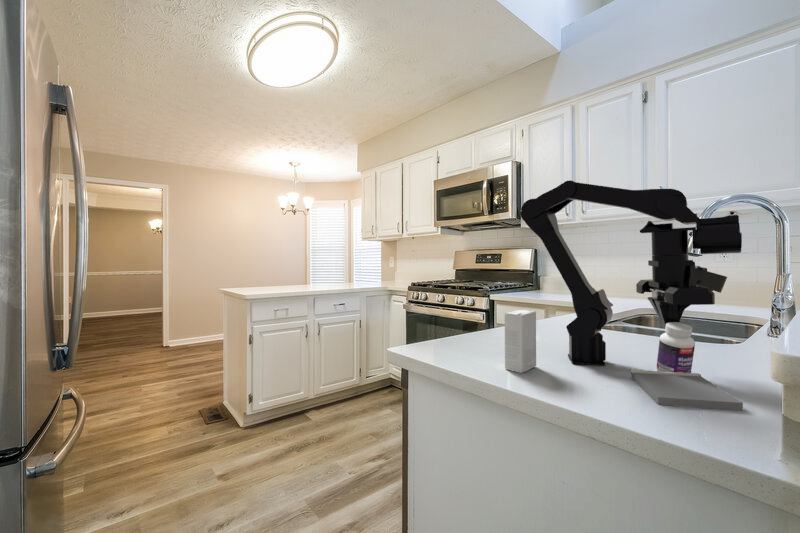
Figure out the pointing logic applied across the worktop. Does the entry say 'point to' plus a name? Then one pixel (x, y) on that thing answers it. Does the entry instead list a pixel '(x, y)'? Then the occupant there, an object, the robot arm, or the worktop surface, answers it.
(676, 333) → the pill bottle
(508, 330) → the skincare box
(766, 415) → the worktop surface
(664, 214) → the robot arm
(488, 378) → the worktop surface
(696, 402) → the mat
